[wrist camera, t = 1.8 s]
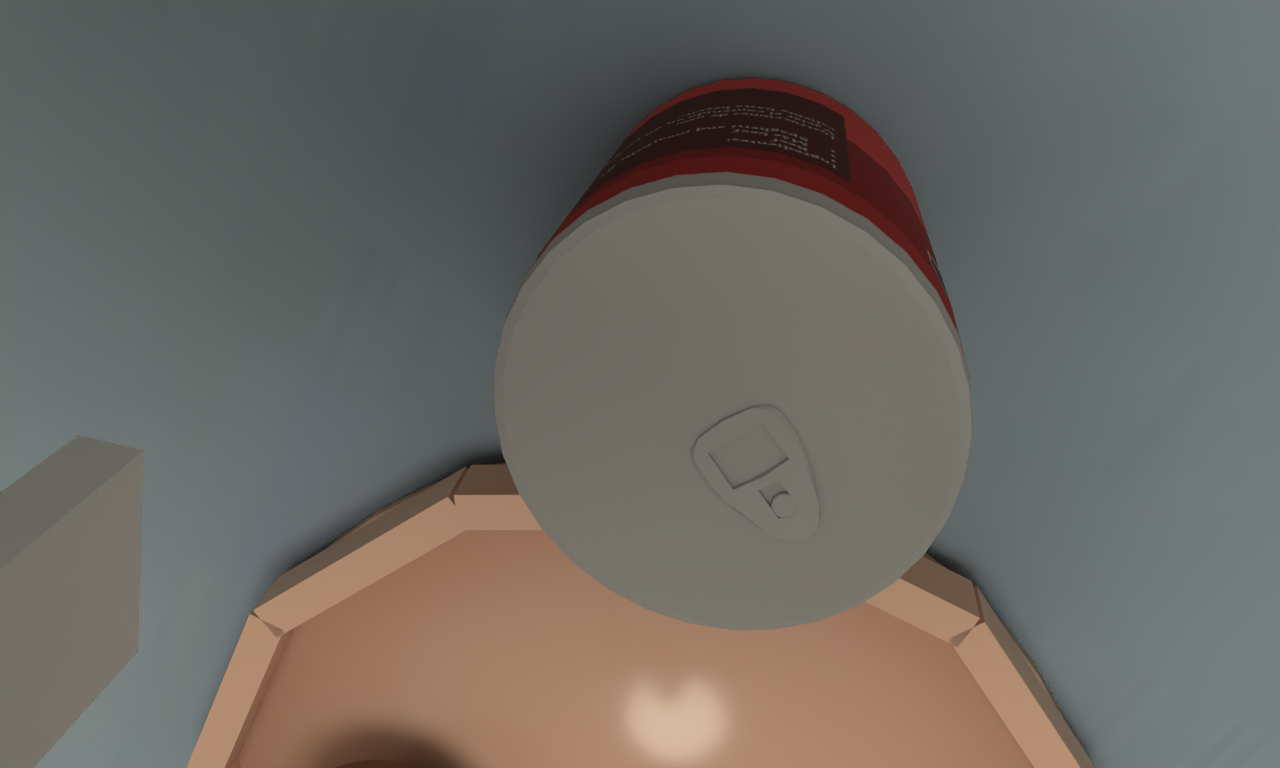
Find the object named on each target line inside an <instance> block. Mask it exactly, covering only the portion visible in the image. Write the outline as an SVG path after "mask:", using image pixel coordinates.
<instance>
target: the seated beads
mask: <svg viewBox="0 0 1280 768" xmlns="http://www.w3.org/2000/svg"><path fill="white" fill-rule="evenodd" d="M336 768H415V767H412V766H410V765H407V764H403V763H400V762H395V761H387V760H363V761H356V762H352V763H348V764H344V765H341V766H338V767H336Z"/></svg>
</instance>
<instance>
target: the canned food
mask: <svg viewBox="0 0 1280 768" xmlns="http://www.w3.org/2000/svg"><path fill="white" fill-rule="evenodd" d="M494 414H495V419H496V424H497V429H498V434H499V439H500V444H501V449H502V454H503V456H504V459H505V461H506V464H507V466H508V468H509V471H510V473H511V476H512V478H513V481H514V483H515V485H516V488H517V490H518V493H519V495H520V496H521V498H522V499H523V501H524V502H525V504H526V505H527V507H528V508H529V510H530V512H531V513H532V515H533V516H534V518H535V519H536V521H537V522H538V524H539V525H540V527H541V528H542V530H543V531H544V532H545V533H546V534H547V535H548V537H549V538H550V539H551V540H552V541H553V542H554V543H555V544H556V545H557V546H558V547H559V548H560V549H561V550H562V552H563V553H564V554H565V555H566V556H567V557H568V558H569V559H570V560H571V561H572V562H573V563H574V564H576V565H577V566H578V567H579V568H581V569H582V570H583V571H585V572H586V573H587V574H589V575H590V576H591V577H593V578H594V579H595V580H597V581H598V582H599V583H600V584H602V585H603V586H604V587H606V588H607V589H609V590H611V591H613V592H614V593H616V594H618V595H620V596H622V597H624V598H626V599H628V600H630V601H631V602H633V603H635V604H637V605H639V606H641V607H643V608H645V609H647V610H650V611H653V612H656V613H659V614H662V615H665V616H668V617H671V618H674V619H677V620H680V621H683V622H686V623H690V624H696V625H702V626H709V627H715V628H721V629H727V630H775V629H781V628H786V627H791V626H797V625H802V624H808V623H813V622H818V621H820V620H823V619H825V618H828V617H831V616H833V615H836V614H839V613H841V612H844V611H846V610H849V609H852V608H854V607H857V606H858V605H860V604H862V603H863V602H865V601H867V600H868V599H870V598H871V597H873V596H875V595H876V594H878V593H879V592H881V591H883V590H884V589H886V588H887V587H889V586H891V585H892V584H894V583H895V582H896V581H897V580H898V579H899V578H900V577H901V576H902V575H903V574H904V573H905V572H906V571H907V570H908V569H909V568H911V567H912V566H913V565H914V564H915V563H916V562H917V561H918V560H919V559H920V558H921V557H922V556H923V555H924V554H925V553H926V551H927V550H928V548H929V547H930V545H931V544H932V542H933V541H934V540H935V538H936V537H937V535H938V534H939V532H940V531H941V529H942V528H943V527H944V525H945V524H946V522H947V521H948V519H949V516H950V514H951V512H952V509H953V507H954V504H955V502H956V500H957V497H958V495H959V492H960V490H961V487H962V485H963V483H964V480H965V474H966V468H967V463H968V457H969V451H970V445H971V440H972V427H971V425H972V414H971V391H970V376H969V373H968V369H967V365H966V361H965V357H964V352H963V349H962V345H961V341H960V337H959V333H958V330H957V326H956V322H955V318H954V314H953V311H952V307H951V304H950V301H949V298H948V295H947V292H946V289H945V286H944V283H943V280H942V277H941V274H940V271H939V268H938V265H937V262H936V259H935V256H934V253H933V250H932V247H931V244H930V241H929V238H928V234H927V231H926V228H925V225H924V222H923V219H922V216H921V213H920V210H919V207H918V204H917V201H916V198H915V195H914V192H913V189H912V187H911V185H910V183H909V181H908V179H907V177H906V175H905V173H904V171H903V169H902V167H901V165H900V163H899V161H898V159H897V158H896V157H895V155H894V154H893V153H892V151H891V150H890V149H889V147H888V146H887V145H886V144H885V142H884V141H883V140H882V138H881V137H880V136H879V135H878V133H877V132H876V131H875V130H873V129H872V128H871V127H870V126H869V125H868V124H867V123H865V122H864V121H863V120H862V119H861V118H860V117H859V116H857V115H856V114H855V113H854V112H853V111H852V110H850V109H848V108H847V107H845V106H843V105H841V104H840V103H838V102H836V101H834V100H833V99H831V98H829V97H827V96H826V95H824V94H822V93H820V92H817V91H814V90H811V89H808V88H805V87H802V86H799V85H796V84H793V83H790V82H785V81H776V80H768V79H760V78H746V79H734V80H723V81H718V82H714V83H711V84H708V85H704V86H701V87H698V88H694V89H691V90H688V91H686V92H684V93H682V94H681V95H679V96H677V97H675V98H673V99H671V100H670V101H668V102H666V103H664V104H662V105H660V106H659V107H658V108H657V109H655V110H654V111H653V112H652V113H651V114H650V115H649V116H647V117H646V118H645V119H644V120H643V121H642V122H640V123H639V124H638V125H637V126H636V127H635V128H634V129H633V130H632V132H631V133H630V134H629V136H628V137H627V138H626V140H625V141H624V142H623V144H622V145H621V146H620V148H619V149H618V150H617V151H616V153H615V154H614V155H613V157H612V158H611V159H610V161H609V162H608V163H607V165H606V166H605V167H604V169H603V170H602V171H601V173H600V174H599V175H598V177H597V178H596V179H595V181H594V182H593V183H592V185H591V186H590V187H589V189H588V190H587V191H586V193H585V194H584V195H583V197H582V198H581V199H580V201H579V202H578V203H577V205H576V206H575V207H574V209H573V210H572V211H571V213H570V214H569V215H568V217H567V218H566V219H565V220H564V222H563V223H562V224H561V226H560V227H559V228H558V230H557V231H556V232H555V234H554V235H553V236H552V238H551V239H550V240H549V242H548V243H547V244H546V246H545V247H544V248H543V250H542V251H541V252H540V254H539V255H538V258H537V260H536V261H535V263H534V264H533V266H532V267H531V268H530V270H529V271H528V272H527V274H526V276H525V278H524V280H523V282H522V284H521V286H520V289H519V291H518V293H517V295H516V297H515V299H514V302H513V304H512V306H511V308H510V310H509V312H508V315H507V320H506V322H505V325H504V327H503V331H502V336H501V340H500V345H499V349H498V354H497V359H496V363H495V368H494Z"/></svg>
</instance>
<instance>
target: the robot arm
mask: <svg viewBox="0 0 1280 768" xmlns="http://www.w3.org/2000/svg"><path fill="white" fill-rule="evenodd" d="M142 479H143V450H138V449H134V448H130V447H126V446H122V445H117V444H113V443H109V442H105V441H100V440H96V439H92V438H88V437H83V436H79V435H78V436H77V437H75V438H74V439H73V440H71V441H70V442H68V443H67V444H66V445H64V446H63V447H62V448H60V449H59V450H58V451H56V452H55V453H54V454H52V455H51V456H49V457H48V458H47V459H45V460H44V461H43V462H41V463H40V464H39V465H37V466H36V467H35V468H33V469H32V470H30V471H29V472H28V473H26V474H25V475H24V476H22V477H21V478H20V479H18V480H17V481H16V482H14V483H13V484H11V485H10V486H9V487H7V488H6V489H5V490H3V491H2V492H1V493H0V768H34V767H35V766H36V765H37V764H38V762H39V761H40V760H41V759H42V758H43V757H44V756H45V755H46V753H47V752H48V751H49V750H50V749H51V748H52V747H53V746H54V745H55V743H56V742H57V741H58V740H59V739H60V738H61V737H62V736H63V734H64V733H65V732H66V731H67V730H68V729H69V728H70V727H71V725H72V724H73V723H74V722H75V721H76V720H77V719H78V718H79V717H80V715H81V714H82V713H83V712H84V711H85V710H86V709H87V708H88V706H89V705H90V704H91V703H92V702H93V701H94V700H95V699H96V698H97V696H98V695H99V694H100V693H101V692H102V691H103V690H104V689H105V687H106V686H107V685H108V684H109V683H110V682H111V681H112V680H113V678H114V677H115V676H116V675H117V674H118V673H119V672H120V671H121V670H122V668H123V667H124V666H125V665H126V664H127V663H128V662H129V661H130V659H131V658H132V657H133V656H134V655H135V654H136V653H137V652H138V628H139V591H140V554H141V516H142Z"/></svg>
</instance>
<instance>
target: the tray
mask: <svg viewBox="0 0 1280 768" xmlns="http://www.w3.org/2000/svg"><path fill="white" fill-rule="evenodd" d="M363 760H387V761H395V762H400V763H403V764H407V765H410V766H412V767H415V768H1096V767H1095V766H1094V764H1093V763H1092V761H1091V760H1090V758H1089V757H1088V755H1087V754H1086V752H1085V750H1084V749H1083V747H1082V746H1081V744H1080V743H1079V741H1078V740H1077V738H1076V737H1075V735H1074V734H1073V732H1072V731H1071V729H1070V728H1069V726H1068V724H1067V723H1066V721H1065V720H1064V718H1063V717H1062V714H1061V711H1060V709H1059V707H1058V706H1057V704H1056V702H1055V700H1054V698H1053V696H1052V695H1051V693H1050V691H1049V689H1048V687H1047V685H1046V684H1045V682H1044V680H1043V678H1042V676H1041V675H1040V673H1039V671H1038V669H1037V667H1036V665H1035V664H1034V662H1033V661H1032V660H1031V658H1030V657H1029V656H1028V654H1027V653H1026V652H1025V650H1024V649H1023V648H1022V646H1021V645H1020V644H1019V643H1018V641H1017V640H1016V639H1015V637H1014V636H1013V635H1012V633H1011V632H1010V631H1009V629H1008V628H1007V627H1006V625H1005V624H1004V623H1003V622H1002V620H1001V619H1000V618H999V617H998V616H997V615H996V614H995V613H994V611H993V610H992V608H991V607H990V605H989V604H988V602H987V600H986V599H985V597H984V596H983V594H982V593H981V591H980V590H979V588H978V587H977V585H975V586H973V584H972V581H971V580H969V579H967V578H965V577H963V576H961V575H959V574H957V573H955V572H953V571H951V570H949V569H947V568H946V567H944V566H943V565H942V564H941V563H939V562H938V561H937V560H935V559H934V558H933V557H931V556H930V555H929V554H927V553H925V554H924V555H923V556H922V557H921V558H920V559H919V560H918V561H917V562H916V563H915V564H914V565H913V566H912V567H911V568H909V569H908V570H907V571H906V572H905V573H904V574H903V575H902V576H901V577H900V578H899V579H898V580H897V581H896V582H895V583H894V584H892V585H891V586H889V587H887V588H886V589H884V590H883V591H881V592H879V593H878V594H876V595H875V596H873V597H871V598H870V599H868V600H867V601H865V602H863V603H862V604H860V605H858V606H857V607H854V608H852V609H849V610H846V611H844V612H841V613H839V614H836V615H833V616H831V617H828V618H825V619H823V620H820V621H818V622H813V623H808V624H802V625H797V626H791V627H786V628H781V629H775V630H727V629H721V628H715V627H709V626H702V625H696V624H690V623H686V622H683V621H680V620H677V619H674V618H671V617H668V616H665V615H662V614H659V613H656V612H653V611H650V610H647V609H645V608H643V607H641V606H639V605H637V604H635V603H633V602H631V601H630V600H628V599H626V598H624V597H622V596H620V595H618V594H616V593H614V592H613V591H611V590H609V589H607V588H606V587H604V586H603V585H602V584H600V583H599V582H598V581H597V580H595V579H594V578H593V577H591V576H590V575H589V574H587V573H586V572H585V571H583V570H582V569H581V568H579V567H578V566H577V565H576V564H574V563H573V562H572V561H571V560H570V559H569V558H568V557H567V556H566V555H565V554H564V553H563V552H562V550H561V549H560V548H559V547H558V546H557V545H556V544H555V543H554V542H553V541H552V540H551V539H550V538H549V537H548V535H547V534H546V533H545V532H544V531H543V530H542V528H541V527H540V525H539V524H538V522H537V521H536V519H535V518H534V516H533V515H532V513H531V512H530V510H529V508H528V507H527V505H526V504H525V502H524V501H523V499H522V498H521V496H520V495H519V493H518V490H517V488H516V485H515V483H514V481H513V478H512V476H511V473H510V471H509V468H508V466H507V464H506V462H502V463H497V464H492V465H471V466H470V468H469V470H468V468H467V467H464V468H462V469H460V470H459V471H457V472H455V473H454V474H452V475H450V476H449V477H447V478H445V479H443V480H441V481H438V482H435V483H432V484H429V485H427V486H425V487H423V488H421V489H419V490H417V491H415V492H413V493H411V494H409V495H407V496H405V497H403V498H401V499H399V500H397V501H395V502H393V503H391V504H388V505H386V506H384V507H382V508H380V509H379V510H377V511H376V512H374V513H373V514H371V515H370V516H369V517H367V518H366V519H364V520H363V521H361V522H360V523H359V524H357V525H356V526H354V527H353V528H351V529H350V530H348V531H347V532H346V533H344V534H343V535H341V536H340V537H338V538H337V539H336V540H335V541H334V542H333V543H332V544H331V545H329V546H328V547H327V548H326V549H325V550H323V551H321V552H320V553H318V554H316V555H315V556H313V557H311V558H310V559H308V560H306V561H305V562H303V563H301V564H299V565H298V566H296V567H294V568H293V569H291V570H289V571H288V572H286V573H284V574H283V575H281V576H279V577H278V578H277V580H275V582H274V583H273V584H272V586H271V587H270V588H269V589H268V591H267V592H266V593H265V595H264V596H263V597H262V599H261V600H260V601H259V602H258V604H257V605H256V606H255V608H254V609H253V610H252V612H251V613H250V614H249V617H248V619H247V622H246V624H245V627H244V629H243V631H242V634H241V636H240V639H239V641H238V644H237V646H236V649H235V651H234V653H233V656H232V658H231V661H230V663H229V666H228V668H227V671H226V673H225V675H224V678H223V680H222V683H221V685H220V688H219V690H218V693H217V695H216V697H215V700H214V702H213V705H212V707H211V710H210V712H209V714H208V717H207V719H206V722H205V724H204V727H203V729H202V732H201V734H200V736H199V739H198V741H197V744H196V746H195V749H194V751H193V754H192V756H191V758H190V761H189V763H188V766H187V768H336V767H338V766H341V765H344V764H348V763H352V762H356V761H363Z"/></svg>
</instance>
